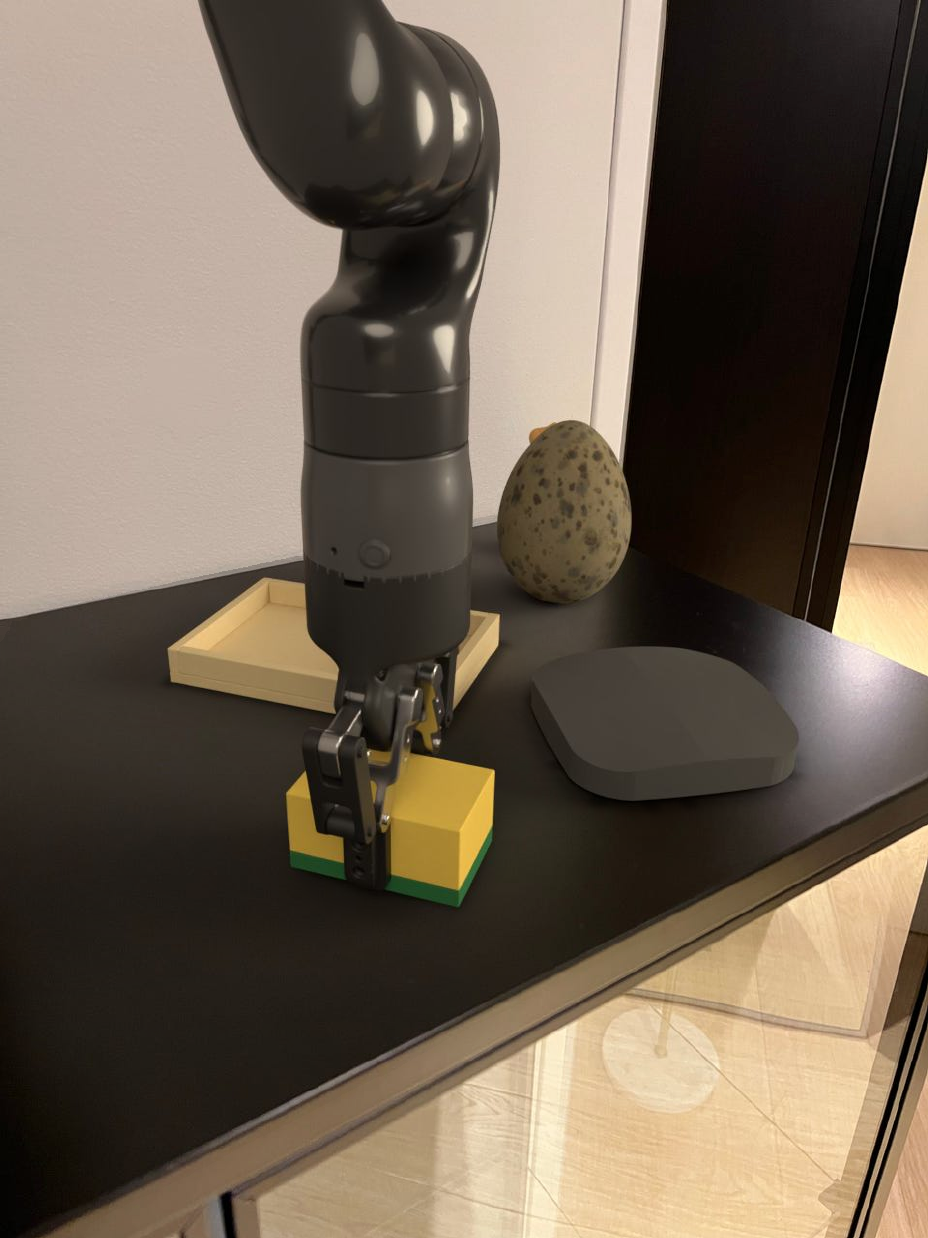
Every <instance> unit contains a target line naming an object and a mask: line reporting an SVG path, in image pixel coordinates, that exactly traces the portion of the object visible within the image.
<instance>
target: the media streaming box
mask: <svg viewBox="0 0 928 1238" xmlns="http://www.w3.org/2000/svg"><path fill="white" fill-rule="evenodd" d="M530 694H531V695H530V698H531V699H530V707H531V710H532V713H533V714H534V717H535V719H536V722H537V724H538V726H539V728H540V730H541V732H542V734H543V736H544V738H545V740H546V741H547V743H548V745H549V747H550V749H551V750H552V752H553V754H554V756H555V757H556V759H557V760H558V762H559V763H560V766H561V767H562V768H563V771H565V773H566V775H567V777H568V778H569V779H570V780H571V781H573V782H574V783H575V784H576V785H578V786H579V787H581V788H582V789H583V790H586V791H588V792H590V793H593V794H595V795H597V796H598V795H599V796H600V797H601V796H602V797H604V798H609V799H614V800H619V801H629V802H631V801H632V802H634V801H649V800H650V801H651V800H661V799H674V798H686V797H694V796H705V795H714V794H721V793H731V792H737V791H738V792H739V791H745V790H753V789H760V788H764V787H771V786H775V785H777V784H780V783H781V782H784V781H785V780H786V779H788V778H789V777H790V776H791V774H792V773H793V770H794V767H795V761H796V756H797V751H798V746H799V740H800V734H799V731H798V728H797V726H796V724H795V723H794V722H793V720H792V718H791V717H790V715H789V714H788V713H787V712H786V710H785V709H784V707H783V706H782V705H781V704H780V703H779V701H778V700H777V699H776V698H775V697H774V695H773V694H772V693H771V692H770V691H769V690H768V689H767V688H766V687H765V686H764V685H763V684H762V683H760V682H759V680H757V679H756V678H755V677H754V676H753V675H751V674H750V673H749V672H748V671H746V670H745V669H743V668H742V667H741V666H739V665H737V664H736V663H734V662H732V661H730V660H727V659H725V658H722V657H719V656H716V655H713V654H709V653H705V652H701V651H696V650H692V649H689V648H688V649H687V648H681V647H671V646H647V645H646V646H622V647H612V648H604V649H603V648H602V649H595V650H589V651H584V652H578V653H574V654H573V653H572V654H569V655H564V656H560V657H558V658H555V659H553V660H550V661H548V662H546V663H544V664H543V665H541V666H540V667H538V668H537V669H536V670H535V671H534V673H533V674H532V678H531V693H530Z"/></svg>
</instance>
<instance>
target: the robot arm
mask: <svg viewBox="0 0 928 1238" xmlns="http://www.w3.org/2000/svg"><path fill="white" fill-rule="evenodd" d="M197 4H198V8H199V12H200V15H201V19H202V22H203V23H202V24H203V26H204V29H205V32H206V35H207V38H208V40H209V43H210V46H211V49H212V52H213V55H214V59H215V61H216V65H217V67H218V71H219V73H220V77H221V80H222V83H223V86H224V89H225V92H226V96H227V98H228V101H229V104H230V107H231V110H232V113H233V115H234V117H235V120H236V123H237V126H238V127H239V131H240V133H241V134H242V137H243V138H244V141H245V143H246V145H247V147H248V149H249V150H250V153H251V154H252V157H254V159H255V161H256V162H257V164H258V165H259V167H260V168H261V170H262V171H263V172H264V174H265V176H266V177H267V179H269V181H270V182H271V183H272V185H273V186H274V187H275V188H276V189H277V191H278V192H279V193H280V194H281V195H282V196H283V197H284V198H285V199H286V200H287V202H289V203H290V204H291V205H292V206H293V207H294V208H295V209H297V210H298V211H299V212H300V213H302V215H304V216H306V217H307V218H309V219H311V220H313V221H314V222H316V223H318V224H320V225H323V226H325V227H328V228H332V229H335V230H340V231H341V239H340V247H339V254H338V255H339V256H338V262H337V263H338V265H337V272H336V275H335V278H334V280H333V283H332V284H331V285H330V286H329V288H328V290H326V291H325V292H324V293H323V294H322V295H321V296H319V298H317V300H315V301H314V302H313V303H312V304H311V305H310V306H309V308H308V309H307V311H306V312H305V315H304V316H303V318H302V319H303V320H302V323H301V328H300V335H299V336H300V339H299V367H300V369H299V370H300V386H301V387H300V388H301V407H302V409H301V410H302V428H303V431H302V432H303V455H302V456H303V458H302V469H301V478H300V490H299V491H300V517H301V518H300V519H301V520H300V521H301V536H302V537H301V538H302V540H301V541H302V557H303V577H304V584H305V601H306V621H307V630H308V634H309V636H310V638H311V639H312V641H313V642H314V643H315V645H317V646H318V647H319V648H320V649H321V650H323V651H324V652H325V653H326V654H327V655H329V656H330V657H331V658H332V660H333V661H334V662H335V663H336V664H337V666H338V668H339V672H338V679H337V683H336V688H335V695H334V702H333V706H334V710H335V712H336V714H335V716H334V718H333V719H332V721H331V722H330V724H329V726H328V727H327V728H326V729H322V728H318V727H314V726H309V727H308V728H307V729H306V730H305V731H304V734H303V737H302V740H301V753H302V758H303V764H304V771H306V776H307V781H308V787H309V793H310V798H311V804H312V810H313V815H314V821H315V827H316V831H317V833H321V834H325V835H333V836H338V837H342V838H343V848H344V875H345V878H346V880H345V881H347V882H348V883H349V884H351V885H353V886H357V887H360V888H365V889H369V890H374V891H378V892H382V891H384V889H385V888H386V886H387V885H388V883H389V881H390V880H391V822H390V821H391V811H392V804H393V797H394V790H395V785H396V783H397V782H399V781H401V780H403V779H404V778H405V777H406V775H407V771H408V764H409V757H410V753H413V754H418V755H423V756H428V757H433V758H436V756H437V755H438V754H439V752H440V749H441V748H442V744H443V740H442V733H441V729H440V727H441V728H446V729H448V728H449V727H450V725H451V723H452V722H453V720H454V713H453V712H454V710H453V701H454V689H455V676H456V664H457V651H458V646H459V645H460V644H461V643H462V642H463V641H464V639H465V638H466V636H467V634H468V632H469V628H470V610H471V605H472V602H471V600H472V596H471V595H472V561H473V560H472V559H473V526H474V525H473V523H474V522H473V521H474V486H473V485H474V484H473V475H472V468H471V459H470V440H469V436H470V403H471V402H470V401H471V400H470V398H471V396H470V395H471V351H470V349H471V348H470V338H471V330H472V329H471V328H472V322H473V316H474V313H475V308H476V305H477V302H478V298H479V295H480V290H481V286H482V282H483V277H484V270H485V265H486V259H487V255H488V250H489V245H490V239H491V234H492V228H493V224H494V223H493V222H494V217H495V212H496V206H497V204H496V203H497V200H498V199H497V198H498V191H499V184H500V183H499V181H500V172H501V171H500V170H501V138H500V123H499V118H498V117H499V116H498V111H497V106H496V100H495V97H494V94H493V91H492V87H491V84H490V83H489V80H488V77H487V76H486V74H485V71H484V70H483V68H482V67H481V65H480V63H479V61H477V59H476V58H475V57H474V55H473V54H472V53H471V52H470V50H469V51H468V49H467V48H465V47H464V45H462V44H461V43H459V42H458V41H457V40H456V39H454V38H452V37H451V36H449V35H446V34H445V33H443V32H440V31H436V30H433V29H430V28H427V27H424V26H418V25H415V24H410V23H407V22H402V21H398V20H396V19H395V17H394V16H393V15H392V13H391V12H390V10H389V9H388V7H387V5H386V4H385V2H384V0H197ZM367 749H370V750H374V751H379V752H391V758H390V761H389V763H388V762H383V761H379V760H374V759H371V751H370V750H367ZM371 780H372V781H374V782H375V783H376V785H377V790H376V797H375V803H373V796H372V788H371Z"/></svg>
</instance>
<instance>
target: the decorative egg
mask: <svg viewBox="0 0 928 1238" xmlns="http://www.w3.org/2000/svg"><path fill="white" fill-rule="evenodd" d="M497 512H498V513H497V518H496V519H497V520H496V537H497V546H498V549H499V553H500V556H501V560H502V562H503V564H504V566H505V568H506V571H508V573H509V574H510V576H511V578H512V579H513V580H514V582H516V583H517V585H518V586H519V587H520V588H522V589H523V590H524V591H525V592H527V593H528V594H529V595H531V596H532V597H534V598H536V599H538V600H540V601H544V602H550V603H554V604H557V605H561V604H562V605H563V604H573V603H578V602H580V601H583V600H585V599H588V598H590V597H591V596H594V594H596V593H598V592H599V591H600V590H602V589H603V588H604V587H605V586H606V585H607V584H608V583H609V582H610V581H611V580H612V579H613V578H614V576H615V575H616V573H617V572H618V571H619V569H620V567H621V565H622V563H623V561H624V560H625V557H626V554H627V551H628V548H629V544H630V540H631V533H632V505H631V498H630V492H629V488H628V485H627V481H626V477H625V474H624V471H623V469H622V466H621V464H620V462H619V460H618V458H617V456H616V454H615V453H614V451H613V449H612V448H611V445H609V443H608V442H607V441H606V439H605V438H604V437H603V436H602V435H601V434H600V433H599V432H598V431H597V430H596V429H595V428H593V426H591V425H589V424H588V423H586V422H583V421H580V420H575V419H567V420H562V421H559V422H556V424H554V425H552V426H550V427H549V428H547V429H546V430H545V431H543V432H542V433H541V434H540V435H539V436H538V437H537V438H536V439H535V440H534V441H533V442H532V443H531V444H530V443H529V445H528V446H527V447H526V448H525V450H524V451H523V452H522V453H521V455H520V457H518V459H517V461H516V463H515V464H514V466H513V468H512V470H511V472H510V473H509V476H508V478H507V480H506V483H505V486H504V488H503V491H502V494H501V497H500V501H499V505H498V510H497Z"/></svg>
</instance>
